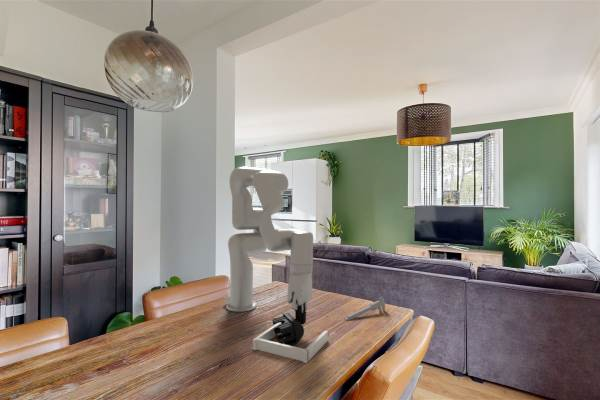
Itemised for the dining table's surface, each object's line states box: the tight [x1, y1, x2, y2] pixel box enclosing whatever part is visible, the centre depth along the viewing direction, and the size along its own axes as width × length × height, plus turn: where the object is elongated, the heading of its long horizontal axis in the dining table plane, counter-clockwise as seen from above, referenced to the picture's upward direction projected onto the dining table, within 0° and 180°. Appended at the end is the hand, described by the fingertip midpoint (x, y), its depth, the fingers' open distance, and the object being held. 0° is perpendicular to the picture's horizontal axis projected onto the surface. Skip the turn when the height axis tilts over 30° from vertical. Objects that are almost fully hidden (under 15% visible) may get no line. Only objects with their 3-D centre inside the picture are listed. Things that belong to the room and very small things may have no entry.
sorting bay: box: [252, 322, 329, 364], centre depth 96 cm, size 18×16×3 cm
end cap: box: [272, 312, 305, 346], centre depth 99 cm, size 10×7×7 cm
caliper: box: [344, 296, 386, 321], centre depth 122 cm, size 20×1×6 cm, turn 120°
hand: (300, 322), depth 103 cm, fingers closed
